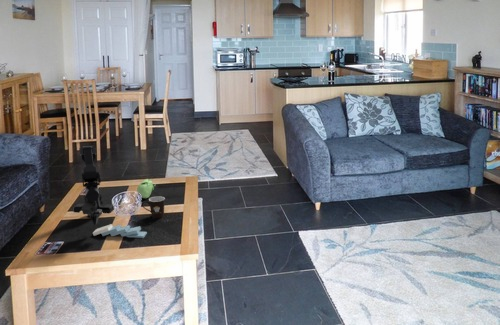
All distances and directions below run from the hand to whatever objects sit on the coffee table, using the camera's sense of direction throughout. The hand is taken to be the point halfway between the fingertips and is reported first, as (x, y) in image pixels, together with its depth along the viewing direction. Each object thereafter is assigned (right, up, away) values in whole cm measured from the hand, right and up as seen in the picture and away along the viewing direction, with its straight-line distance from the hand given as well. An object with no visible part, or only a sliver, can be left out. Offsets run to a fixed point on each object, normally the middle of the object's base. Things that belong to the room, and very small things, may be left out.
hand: (95, 224), depth 226 cm
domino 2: (+4, -4, +1) cm, 6 cm away
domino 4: (+14, -4, -1) cm, 15 cm away
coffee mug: (+25, +1, +24) cm, 35 cm away
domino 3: (+9, -4, 0) cm, 10 cm away
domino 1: (0, -4, +1) cm, 4 cm away
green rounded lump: (+14, +9, +54) cm, 57 cm away
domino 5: (+17, -5, 0) cm, 17 cm away
